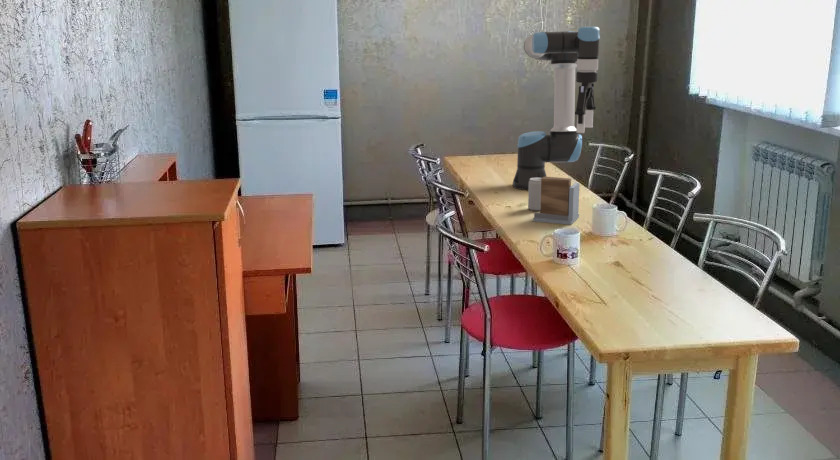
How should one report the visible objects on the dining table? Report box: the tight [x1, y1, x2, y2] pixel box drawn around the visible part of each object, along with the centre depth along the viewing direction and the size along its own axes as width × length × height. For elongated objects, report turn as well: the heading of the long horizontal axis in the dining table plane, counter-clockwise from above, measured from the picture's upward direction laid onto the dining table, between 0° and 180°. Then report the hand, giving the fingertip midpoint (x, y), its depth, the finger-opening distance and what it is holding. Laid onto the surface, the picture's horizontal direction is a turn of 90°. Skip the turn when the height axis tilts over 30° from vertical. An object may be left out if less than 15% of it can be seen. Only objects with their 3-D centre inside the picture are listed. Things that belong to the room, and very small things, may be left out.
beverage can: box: [527, 178, 541, 212], centre depth 299 cm, size 6×6×12 cm
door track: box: [532, 182, 581, 225], centre depth 285 cm, size 12×14×13 cm
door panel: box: [539, 176, 572, 215], centre depth 285 cm, size 4×10×14 cm, turn 66°
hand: (584, 130), depth 289 cm, fingers open, 13 cm apart
